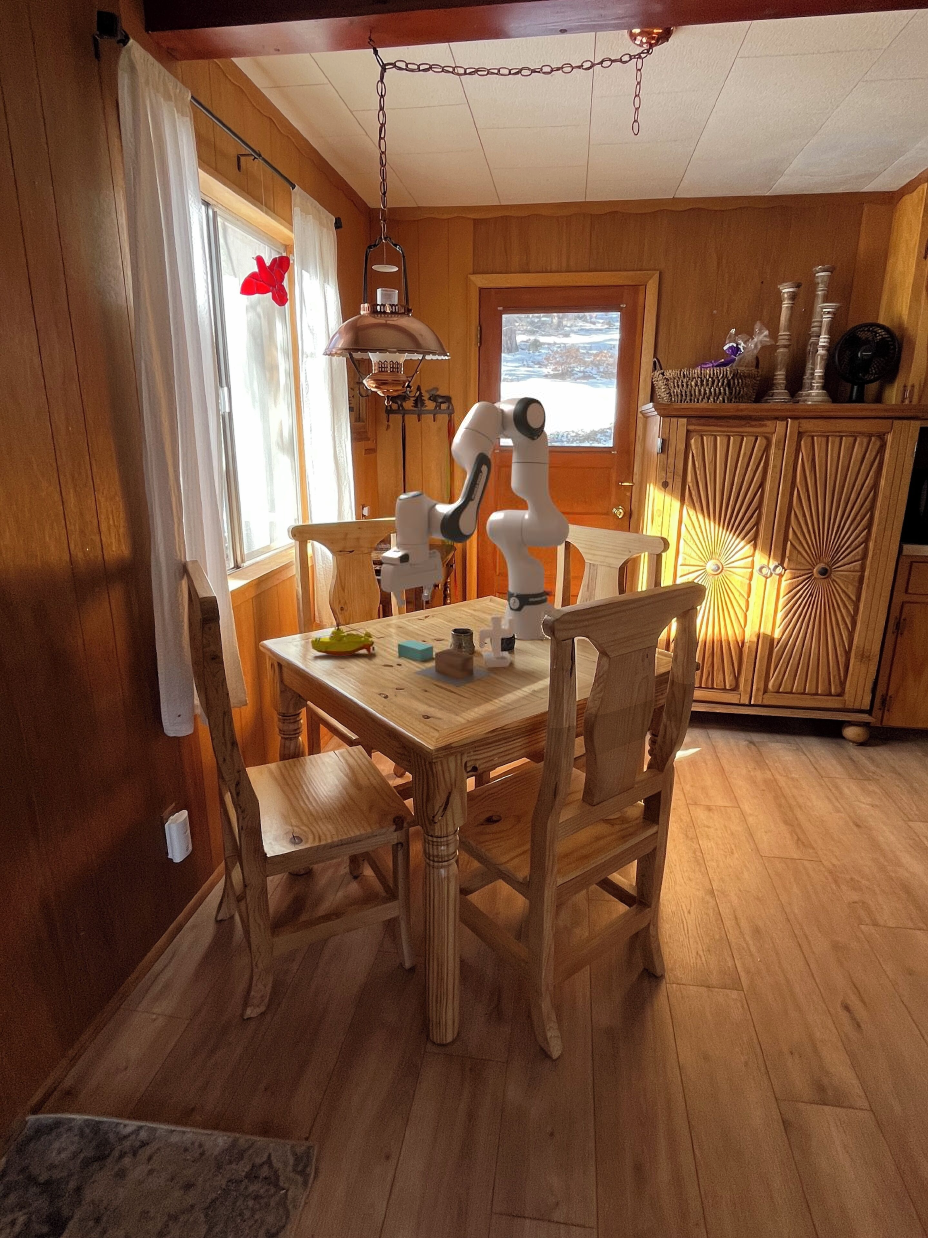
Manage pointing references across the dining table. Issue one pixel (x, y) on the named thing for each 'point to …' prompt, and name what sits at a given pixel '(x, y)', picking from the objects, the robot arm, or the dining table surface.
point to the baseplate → (454, 681)
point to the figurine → (496, 641)
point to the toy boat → (343, 643)
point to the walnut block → (454, 663)
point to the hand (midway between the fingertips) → (413, 602)
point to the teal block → (415, 650)
